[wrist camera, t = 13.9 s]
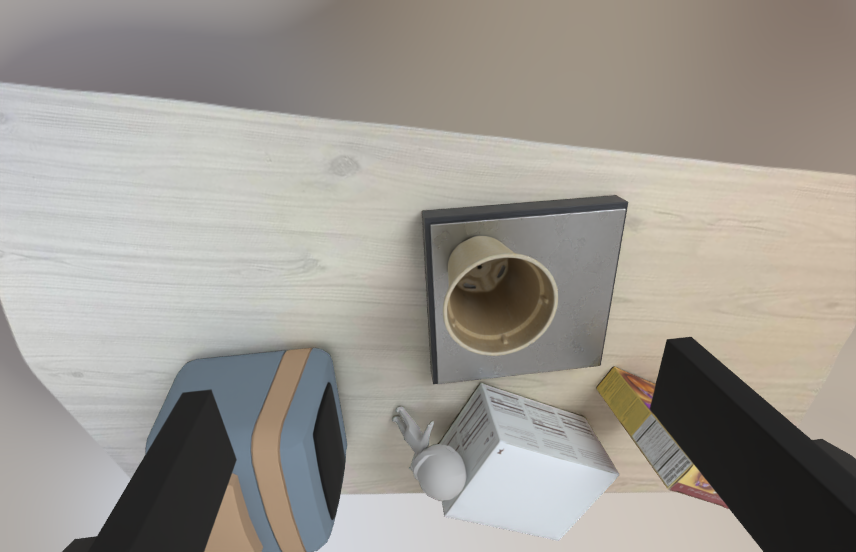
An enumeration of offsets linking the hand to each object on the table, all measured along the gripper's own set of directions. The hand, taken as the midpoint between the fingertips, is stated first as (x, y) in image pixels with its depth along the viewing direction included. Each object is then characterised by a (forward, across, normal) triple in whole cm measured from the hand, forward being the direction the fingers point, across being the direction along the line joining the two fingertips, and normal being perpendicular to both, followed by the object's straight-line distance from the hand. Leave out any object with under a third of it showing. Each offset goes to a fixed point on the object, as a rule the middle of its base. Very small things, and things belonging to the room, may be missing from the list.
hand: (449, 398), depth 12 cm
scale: (+30, +12, -14) cm, 36 cm away
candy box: (+31, +28, -30) cm, 51 cm away
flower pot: (+28, +7, -9) cm, 30 cm away
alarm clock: (+31, -17, -26) cm, 44 cm away
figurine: (+31, -2, -30) cm, 43 cm away
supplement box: (+31, +12, -36) cm, 49 cm away
